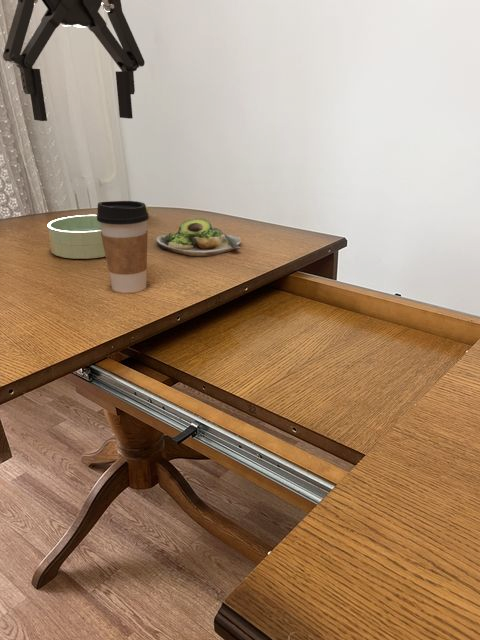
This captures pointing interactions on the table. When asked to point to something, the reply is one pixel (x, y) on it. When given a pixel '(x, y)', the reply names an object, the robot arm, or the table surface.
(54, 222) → the bowl
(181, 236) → the salad plate
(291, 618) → the table surface
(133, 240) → the coffee cup
